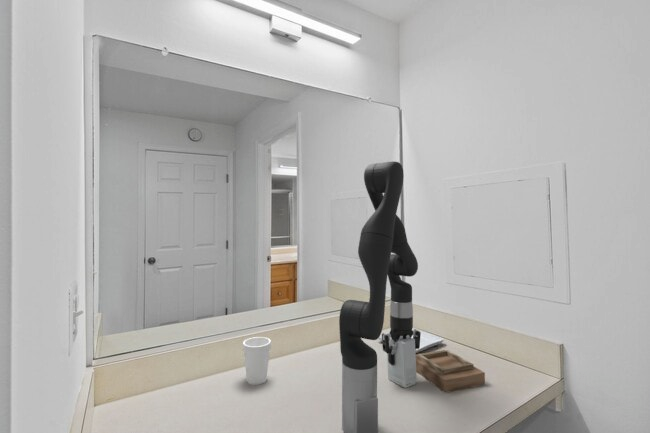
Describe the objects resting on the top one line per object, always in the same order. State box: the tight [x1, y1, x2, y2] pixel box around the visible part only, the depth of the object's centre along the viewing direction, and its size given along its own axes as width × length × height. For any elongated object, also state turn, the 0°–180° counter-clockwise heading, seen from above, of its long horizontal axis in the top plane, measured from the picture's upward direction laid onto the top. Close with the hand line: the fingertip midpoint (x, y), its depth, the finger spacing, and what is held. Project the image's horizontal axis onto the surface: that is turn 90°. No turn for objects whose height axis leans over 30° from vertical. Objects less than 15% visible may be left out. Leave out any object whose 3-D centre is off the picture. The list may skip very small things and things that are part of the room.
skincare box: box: [386, 337, 418, 389], centre depth 114 cm, size 8×6×15 cm
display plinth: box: [416, 349, 486, 393], centre depth 119 cm, size 20×16×6 cm
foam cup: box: [242, 336, 272, 385], centre depth 115 cm, size 10×9×13 cm
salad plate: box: [377, 328, 445, 354], centre depth 148 cm, size 21×21×3 cm
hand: (401, 362), depth 114 cm, fingers closed on skincare box, 6 cm apart
